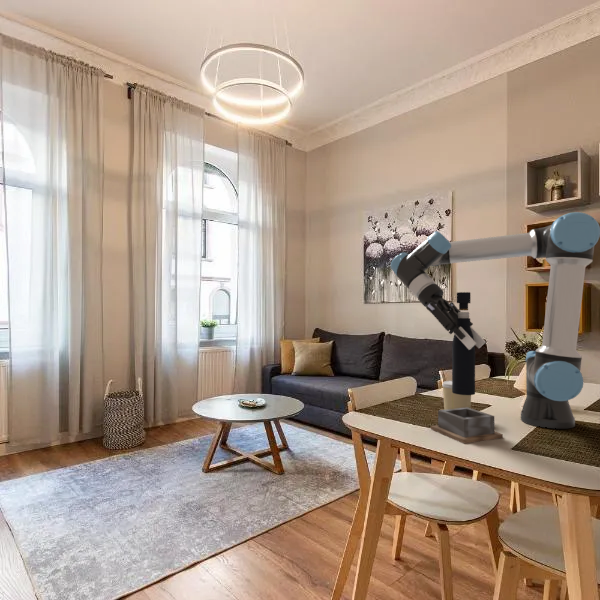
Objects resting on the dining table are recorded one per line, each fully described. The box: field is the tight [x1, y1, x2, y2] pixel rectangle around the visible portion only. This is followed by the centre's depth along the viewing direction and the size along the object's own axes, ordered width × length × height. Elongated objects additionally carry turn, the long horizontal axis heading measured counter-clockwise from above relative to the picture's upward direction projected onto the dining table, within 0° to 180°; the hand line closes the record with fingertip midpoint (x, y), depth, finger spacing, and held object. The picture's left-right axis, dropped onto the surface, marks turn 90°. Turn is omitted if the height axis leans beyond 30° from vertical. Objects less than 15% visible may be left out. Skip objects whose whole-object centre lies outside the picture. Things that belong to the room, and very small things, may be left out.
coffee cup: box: [441, 380, 472, 410], centre depth 140 cm, size 9×9×12 cm
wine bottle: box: [451, 291, 476, 396], centre depth 124 cm, size 6×6×30 cm
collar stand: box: [430, 407, 504, 444], centre depth 124 cm, size 14×14×6 cm
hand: (477, 345), depth 121 cm, fingers closed on wine bottle, 5 cm apart
